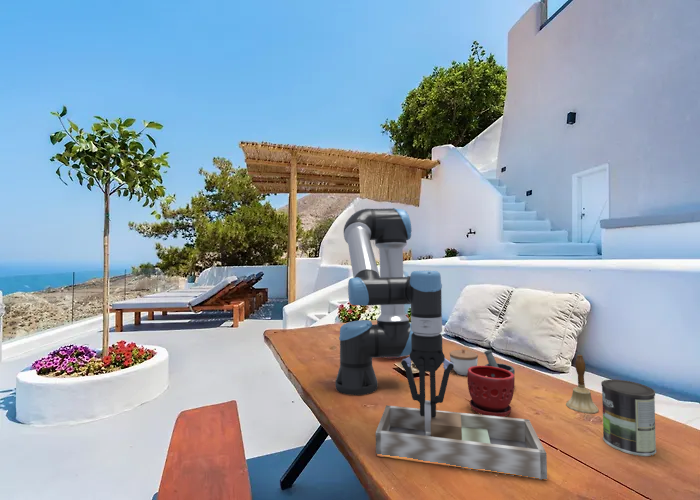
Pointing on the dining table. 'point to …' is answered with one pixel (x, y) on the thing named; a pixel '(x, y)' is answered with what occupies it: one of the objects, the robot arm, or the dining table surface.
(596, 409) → the hand bell
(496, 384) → the plant pot
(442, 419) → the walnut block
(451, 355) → the lidded jar
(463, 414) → the box
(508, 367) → the mortar and pestle
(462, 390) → the dining table surface
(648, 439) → the coffee can
